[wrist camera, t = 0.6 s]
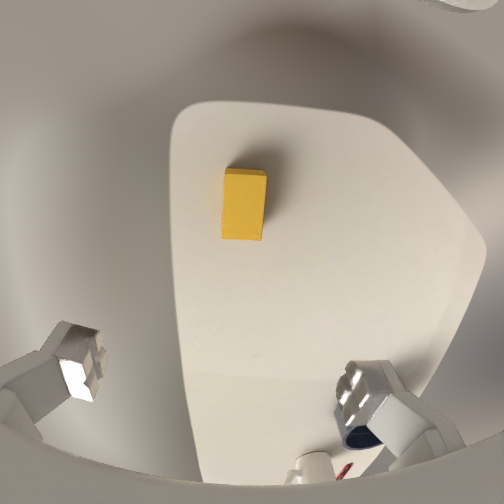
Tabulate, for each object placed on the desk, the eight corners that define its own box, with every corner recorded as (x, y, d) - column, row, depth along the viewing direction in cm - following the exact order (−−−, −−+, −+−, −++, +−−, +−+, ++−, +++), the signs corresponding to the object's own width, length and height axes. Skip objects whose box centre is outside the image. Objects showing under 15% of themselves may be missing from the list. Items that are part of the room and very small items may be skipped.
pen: (354, 461, 46) (355, 464, 46) (336, 484, 52) (337, 486, 52) (345, 463, 46) (346, 466, 46) (329, 486, 52) (329, 488, 52)
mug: (338, 451, 43) (351, 506, 32) (317, 466, 45) (327, 517, 35) (290, 448, 41) (299, 510, 30) (271, 463, 43) (276, 520, 32)
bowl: (404, 366, 34) (420, 395, 29) (398, 407, 38) (410, 433, 33) (330, 392, 35) (340, 425, 30) (336, 428, 39) (343, 457, 34)
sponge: (225, 167, 23) (224, 173, 21) (264, 170, 23) (267, 175, 21) (222, 227, 25) (221, 238, 23) (258, 229, 25) (261, 241, 23)
